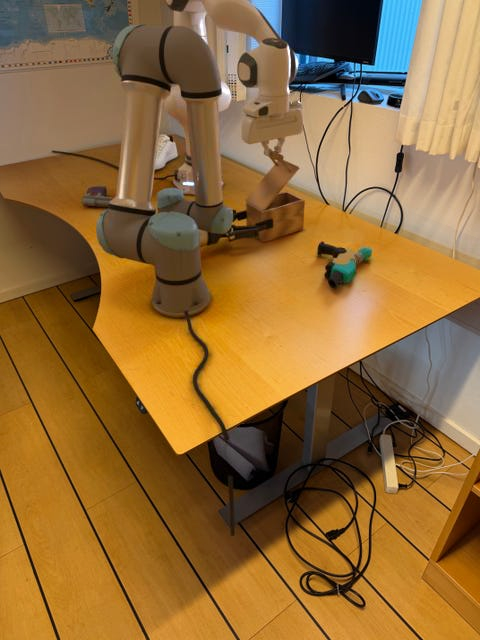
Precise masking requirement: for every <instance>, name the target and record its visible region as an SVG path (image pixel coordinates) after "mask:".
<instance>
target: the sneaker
mask: <svg viewBox="0 0 480 640" xmlns="http://www.w3.org/2000/svg"><path fill="white" fill-rule="evenodd" d="M178 156H179V155H178V149H177V144H176V140H175V136H174V135H173V134H164V133H161V134H159V139H158V147H157V155H156V164H155V171H156V170H160V169H162V168H164V167H165V166H166V164H167V163H168V162H170V161H172V160H175V159H176V158H177V157H178Z"/></svg>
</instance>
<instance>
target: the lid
mask: <svg viewBox="0 0 480 640" xmlns="http://www.w3.org/2000/svg"><path fill="white" fill-rule="evenodd" d="M271 153H272V154H271V155H268V156H267V155H265V154H264V153H263V155H264V156H265V157H268V158H269V159H270V160H271V161H272V163H273V164H274V165H273V166H272V167H271V168H270V169H269V171H268V172H267V173H265V175H264V177H263V178H262V179H261V180H260V181H259V183H258V184H257V185H256V186H255V187H254V189H253V190H252V191H251V192H250V193H249V194H248V196H247V197H246V199H245V201H246V202H248V203H250V204H252V205H253V206H255V207H257V208H258V209H260V210H262V211H263V212H264V210H265V209H266V208H267V207H268V206H269V204H270V203H271V202H272V201H273V200H274V198H275V197H276V196H277V195H278V194H279V193H281V192H282V190H283V189H284V188H285V187H286V186H287V184H288V183H289V182H290V180H291V179H293V177H294V176H295V175H296V173H297V172H298V171H299V170H300V169H301V168H300V167H299V165H296V164H294V163H292V162H289V161H287V160H286V159H284V155H283V154H281V153H277V152H274V150H272V152H271Z"/></svg>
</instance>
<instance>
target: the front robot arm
mask: <svg viewBox="0 0 480 640" xmlns="http://www.w3.org/2000/svg"><path fill="white" fill-rule="evenodd" d="M112 62H113V65H115V66H114V70H115V72H116V74H117V75H118V77H119V78H120V85H121V87H122V88H123V90H124V91H125V93H126V95H125V96H126V97H125V105H124V106H125V107H124V117H123V124H122V125H123V126H122V133H121V143H120V153H119V154H120V155H119V165H118V167H119V169H118V173H117V185H116V192H115V193H116V194H115V196H114V197H113V198H114V199H112V200H111V201H110V202H109V207H107V209H104V210H103V211H102V212H101V213H100V216H98V218H97V221H96V226H95V232H96V239H97V241H98V244H99V245H100V247H101V248H102V250H103V251H104V252H105V253H107V254H108V255H111V256H114V257H117V258H118V259H125V260H129V261H134V262H138V263H141V264H148V265H151V266H153V268H154V274H155V275H154V276H155V281H154V284H153V290H152V294H151V305H152V308H153V310H154V311H155V312H156V313H157V314H159V315H160V316H163V317H167V318H171V319H183V318H185V319H186V323H187V328H188V332H189V333H190V335H191V336H192V338H193V339H194V340H195V341H196V342H197V343H198V344H199V345H200V346H201V347H202V349H203V351H204V355H203V358H202V360H201V361H200V363H199V365H198V366H197V367H196V369H195V370H194V372H193V375H192V385H193V388H194V391H195V393H196V394H197V396H198V397H199V399H201V401H202V402H203V403H204V405H205V406H206V408H207V410H208V411H209V413H210V414H211V416H212V417H213V418H214V420H215V421H216V422H217V424H218V426H219V428H220V430H221V433H222V436H223V439H224V441H225V442H228V441H230V437H229V433H228V429H227V427H226V425H225V423H224V421H223V420H222V418H221V417H220V415H219V414H218V412H216V410H215V409H214V408H213V406H212V404H211V403H210V401H209V400H208V399H207V397H206V396H205V394H204V393H203V392H202V391H201V389H200V387H199V385H198V376H199V373H200V372H201V370H202V368H203V367H204V366H205V365H206V363H207V361H208V359H209V349H208V346H207V345H206V343H205V342H204V341H203V340H202V339H201V338H200V337H199V336H198V335H197V334H196V333H195V331H194V328H193V326H192V321H191V317H194V316H196V315H199V314H201V313H202V312H204V311H205V310H207V308H208V307H209V306H210V303H211V294H210V293H211V292H210V290H209V288H208V286H207V284H206V281H205V278H204V277H203V275H202V262H201V261H202V259H201V249H202V248H205V247H209V246H212V245H216V244H218V243H219V241H220V240H221V239H224V238H225V239H226V238H227V239H228V242H233V241H238V240H243V239H244V240H245V239H250V238H256V237H258V236H259V232H260V231H263V230H266V229H270V228H273V219H270V220H266V221H263V222H259V223H255V225H248V226H247V225H235V224H233V223H234V222H236V221H238V222H239V221H243V220H246V209H244V210H241V211H238V212H237V209H233V210H232V208H231V207H229V206H227V205H224V198H223V186H222V181H223V179H222V177H223V176H222V158H221V137H220V136H221V135H220V119H219V118H220V117H219V115H220V114H219V112H218V99H219V98H220V97H221V95H222V87H221V80H222V79H221V75H220V74H221V73H220V70H219V65H218V63H217V60H216V58H215V55H214V53H213V52H212V49H211V48H210V46H209V44H208V45H207V43H206V42H205V40H204V39H203V38H202V37H201V36H200V35H199V34H198V33H196V32H195V31H194V30H192V29H190V28H187V27H184V26H174V25H153V24H145V23H142V24H141V23H139V24H137V25H129V26H126V27H124V28H123V29H122V30H121V31H120V32H119V33H118V34H117V36H116V38H115V40H114V43H113V48H112ZM172 85H179V86H180V91H181V97H182V98H183V99H184V100H185V101H186V108H187V118H188V129H189V140H190V150H191V161H192V172H193V182H194V193H195V195H194V200H191V199H185V196H184V194H183V192H182V191H181V190H179V189H178V188H177V187H168V188H163V189H161V190H159V191H158V192H157V194H156V207H155V205H154V204H153V203H152V195H153V187H154V180H155V179H154V178H155V171H156V170H155V164H156V155H157V147H158V139H159V135H160V129H161V121H162V113H163V106H164V100H165V99H166V98H167V97H169V96H170V93H171V87H172ZM233 479H234V478H233V475H227V482H228V485H227V486H228V501H229V503H228V505H229V527H230V536H231V537H234V536H235V535H236V531H235V529H236V528H235V499H234V498H235V497H234V496H235V495H234V480H233Z"/></svg>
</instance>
